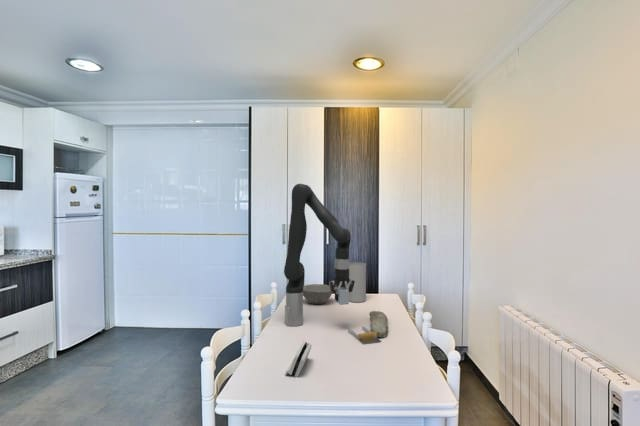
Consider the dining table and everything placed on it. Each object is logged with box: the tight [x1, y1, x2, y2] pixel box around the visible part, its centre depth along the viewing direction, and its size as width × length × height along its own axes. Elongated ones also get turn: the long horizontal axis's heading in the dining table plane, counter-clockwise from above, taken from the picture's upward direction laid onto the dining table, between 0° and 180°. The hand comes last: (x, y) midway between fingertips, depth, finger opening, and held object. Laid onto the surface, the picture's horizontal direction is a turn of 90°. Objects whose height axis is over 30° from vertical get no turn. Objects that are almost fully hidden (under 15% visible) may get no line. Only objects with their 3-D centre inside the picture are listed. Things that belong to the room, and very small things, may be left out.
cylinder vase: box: [348, 261, 367, 304], centre depth 233 cm, size 12×12×25 cm
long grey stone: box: [368, 310, 389, 338], centre depth 181 cm, size 35×5×10 cm
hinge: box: [284, 341, 313, 378], centre depth 134 cm, size 17×5×10 cm, turn 170°
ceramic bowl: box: [303, 283, 335, 305], centre depth 227 cm, size 22×23×10 cm
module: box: [334, 287, 350, 306], centre depth 176 cm, size 4×8×7 cm, turn 19°
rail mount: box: [347, 325, 382, 345], centre depth 166 cm, size 9×18×3 cm, turn 19°
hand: (341, 300), depth 176 cm, fingers closed on module, 4 cm apart
